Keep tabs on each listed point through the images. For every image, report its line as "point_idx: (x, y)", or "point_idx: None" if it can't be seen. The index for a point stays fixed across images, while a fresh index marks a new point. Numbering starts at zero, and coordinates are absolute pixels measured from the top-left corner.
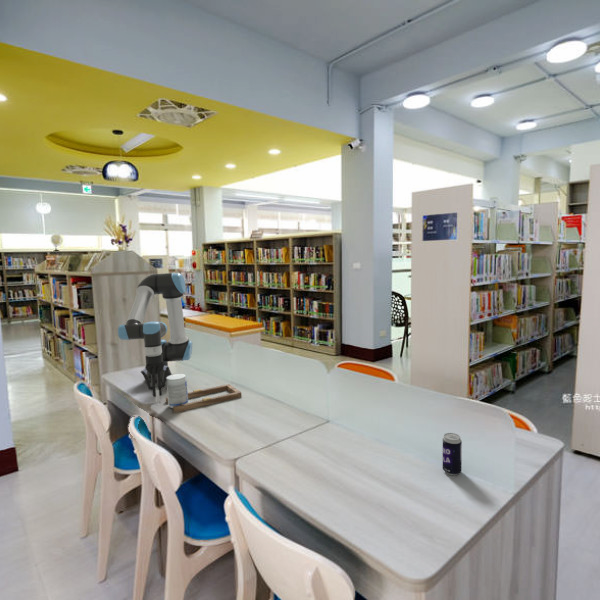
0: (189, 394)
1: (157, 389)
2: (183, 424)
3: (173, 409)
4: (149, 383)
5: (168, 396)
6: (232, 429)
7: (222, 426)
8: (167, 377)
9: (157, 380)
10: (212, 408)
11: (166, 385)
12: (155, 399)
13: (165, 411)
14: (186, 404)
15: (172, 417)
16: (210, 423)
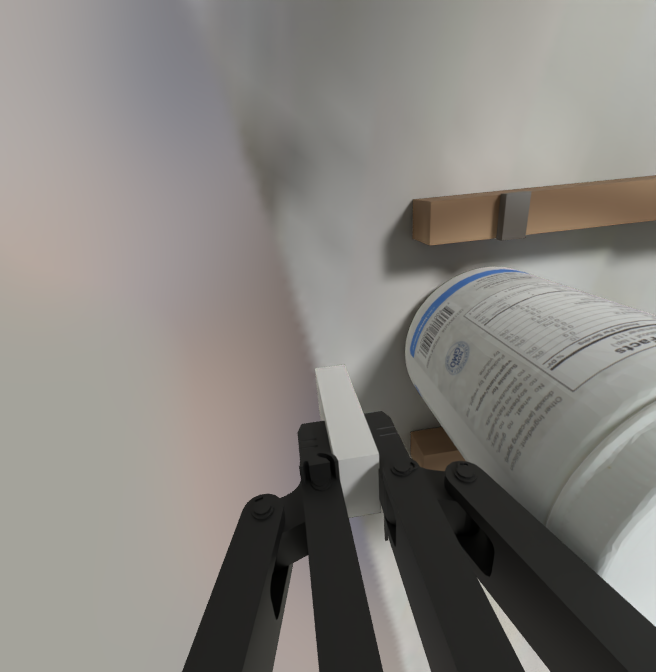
0: (639, 220)
1: (368, 490)
2: (406, 595)
3: (416, 445)
4: (268, 665)
5: (442, 419)
6: (540, 668)
7: (527, 644)
8: (637, 546)
9: (425, 621)
10: None
11: (504, 469)
12: (318, 388)
13: (364, 408)
14: None
15: (381, 510)
16: (505, 615)
